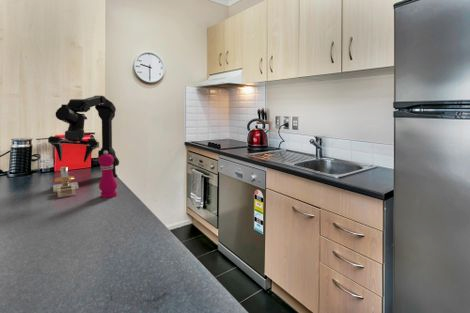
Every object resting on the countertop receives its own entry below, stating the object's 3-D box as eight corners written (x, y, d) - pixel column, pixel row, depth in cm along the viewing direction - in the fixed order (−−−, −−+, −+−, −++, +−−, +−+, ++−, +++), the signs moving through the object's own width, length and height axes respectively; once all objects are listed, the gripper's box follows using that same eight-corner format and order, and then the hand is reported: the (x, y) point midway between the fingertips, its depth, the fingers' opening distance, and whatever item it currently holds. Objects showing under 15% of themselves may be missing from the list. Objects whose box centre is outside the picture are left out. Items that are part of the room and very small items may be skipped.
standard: (53, 186, 133) (51, 166, 131) (77, 183, 139) (75, 164, 137) (53, 192, 125) (50, 170, 123) (78, 188, 130) (76, 168, 128)
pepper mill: (96, 196, 119) (92, 151, 116) (110, 192, 126) (107, 148, 122) (107, 199, 116) (103, 152, 112) (121, 194, 122) (118, 150, 119)
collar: (57, 193, 124) (57, 186, 123) (74, 191, 127) (74, 184, 127) (58, 197, 118) (57, 190, 118) (75, 194, 122) (75, 188, 121)
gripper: (46, 119, 112) (41, 157, 109) (97, 124, 118) (93, 160, 115) (54, 126, 122) (49, 161, 120) (100, 130, 128) (97, 163, 126)
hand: (72, 161), depth 120 cm, fingers open, 9 cm apart
